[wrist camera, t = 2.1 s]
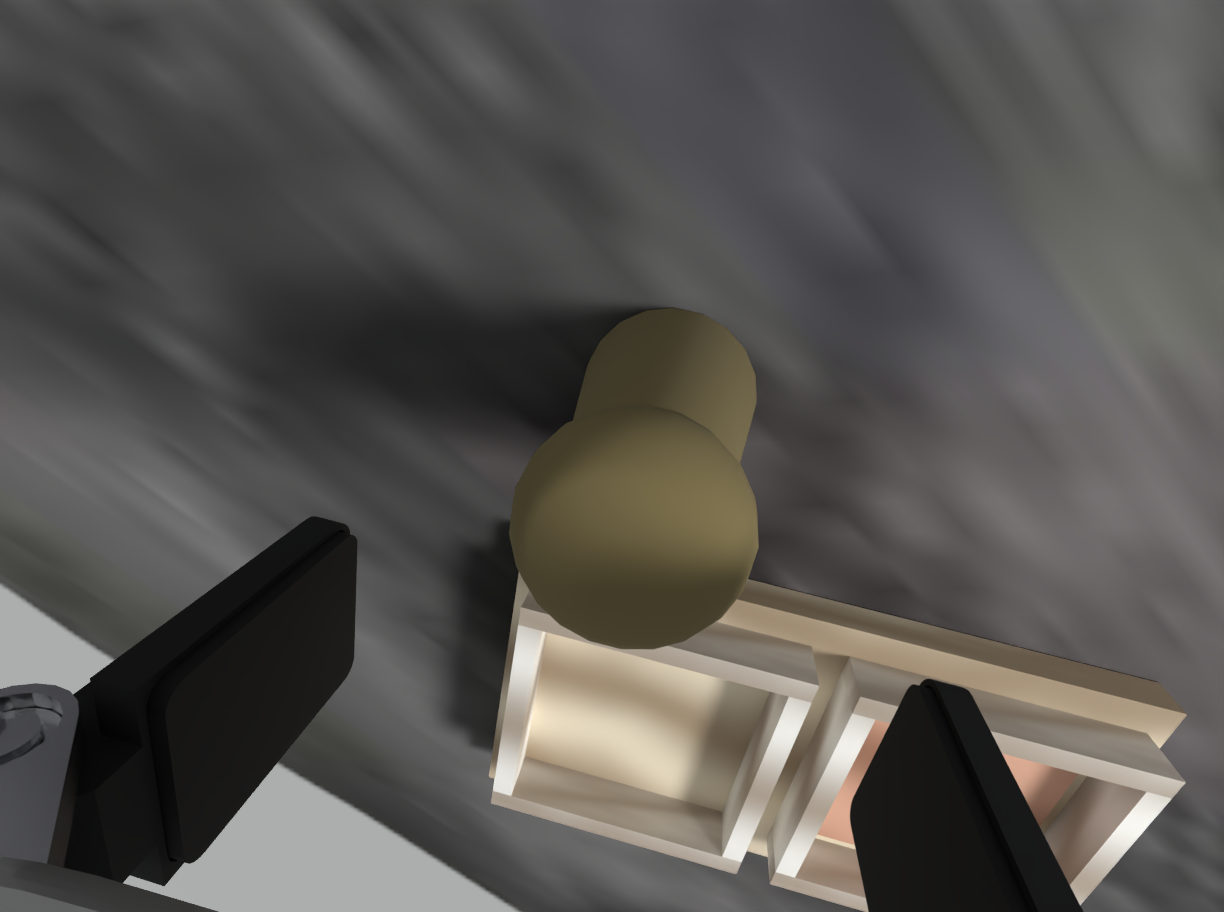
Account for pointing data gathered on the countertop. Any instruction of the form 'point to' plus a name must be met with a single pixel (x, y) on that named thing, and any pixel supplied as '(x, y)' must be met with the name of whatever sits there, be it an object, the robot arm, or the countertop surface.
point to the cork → (644, 488)
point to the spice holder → (809, 736)
